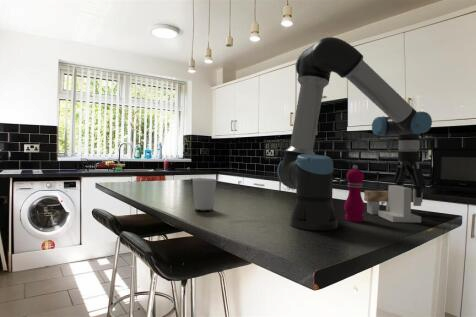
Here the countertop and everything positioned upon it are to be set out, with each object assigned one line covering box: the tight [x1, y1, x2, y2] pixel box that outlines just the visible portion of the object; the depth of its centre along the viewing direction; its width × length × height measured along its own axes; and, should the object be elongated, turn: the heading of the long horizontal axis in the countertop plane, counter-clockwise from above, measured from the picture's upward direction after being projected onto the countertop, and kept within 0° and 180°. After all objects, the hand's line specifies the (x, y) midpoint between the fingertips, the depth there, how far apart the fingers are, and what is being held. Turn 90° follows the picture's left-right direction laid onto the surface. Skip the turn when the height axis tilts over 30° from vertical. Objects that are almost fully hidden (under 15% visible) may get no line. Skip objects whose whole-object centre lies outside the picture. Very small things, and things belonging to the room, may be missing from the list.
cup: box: [192, 177, 217, 212], centre depth 131 cm, size 10×10×13 cm
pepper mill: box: [343, 164, 366, 223], centre depth 116 cm, size 7×7×20 cm
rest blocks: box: [366, 201, 388, 215], centre depth 131 cm, size 11×5×5 cm, turn 90°
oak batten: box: [363, 190, 424, 203], centre depth 131 cm, size 22×4×4 cm, turn 90°
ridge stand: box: [377, 184, 422, 223], centre depth 120 cm, size 10×12×12 cm
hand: (407, 203), depth 131 cm, fingers open, 13 cm apart
